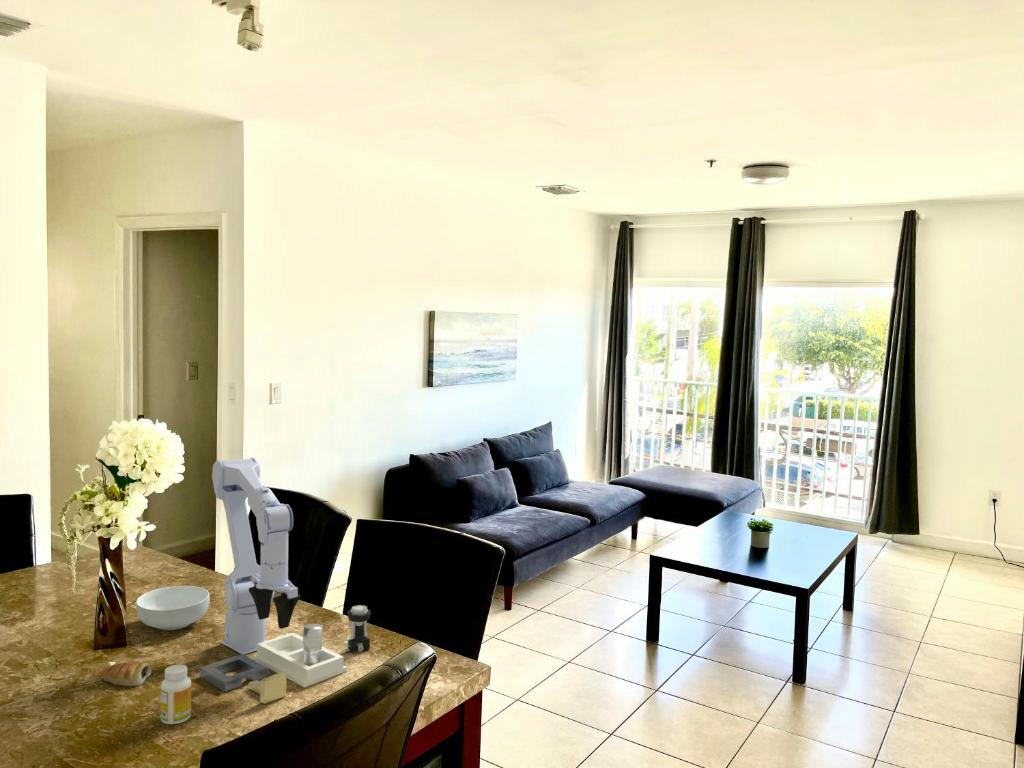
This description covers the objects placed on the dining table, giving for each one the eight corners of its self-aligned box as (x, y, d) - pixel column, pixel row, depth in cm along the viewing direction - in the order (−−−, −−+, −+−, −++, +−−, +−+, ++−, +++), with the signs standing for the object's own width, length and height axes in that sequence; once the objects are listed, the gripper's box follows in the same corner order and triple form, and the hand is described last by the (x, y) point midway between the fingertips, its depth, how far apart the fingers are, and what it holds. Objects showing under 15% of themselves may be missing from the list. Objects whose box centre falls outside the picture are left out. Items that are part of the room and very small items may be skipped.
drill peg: (298, 667, 176) (299, 626, 175) (313, 661, 179) (314, 622, 178) (309, 672, 173) (311, 632, 173) (324, 667, 177) (326, 627, 176)
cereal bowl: (156, 610, 208) (156, 583, 208) (220, 613, 208) (220, 586, 207) (122, 636, 191) (122, 607, 191) (191, 639, 191) (192, 610, 190)
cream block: (241, 690, 166) (241, 669, 166) (263, 682, 170) (263, 661, 169) (264, 704, 161) (264, 682, 160) (286, 695, 165) (286, 674, 164)
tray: (253, 659, 181) (253, 644, 181) (295, 646, 189) (295, 631, 189) (304, 687, 169) (304, 671, 169) (346, 671, 177) (347, 655, 177)
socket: (199, 676, 172) (200, 667, 172) (242, 662, 179) (242, 653, 179) (225, 692, 165) (225, 682, 165) (267, 676, 173) (268, 667, 173)
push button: (346, 657, 185) (347, 614, 184) (337, 648, 189) (338, 607, 188) (373, 651, 188) (374, 609, 187) (364, 643, 193) (365, 602, 192)
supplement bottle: (195, 711, 157) (195, 663, 156) (185, 725, 152) (185, 675, 151) (167, 710, 157) (167, 662, 156) (155, 724, 152) (156, 674, 151)
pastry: (94, 685, 166) (94, 667, 166) (111, 671, 173) (111, 654, 173) (139, 688, 166) (139, 670, 166) (154, 674, 173) (154, 656, 173)
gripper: (239, 558, 177) (238, 619, 178) (277, 572, 167) (277, 636, 168) (267, 552, 182) (267, 611, 183) (306, 565, 173) (305, 627, 174)
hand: (273, 622), depth 176 cm, fingers open, 7 cm apart
